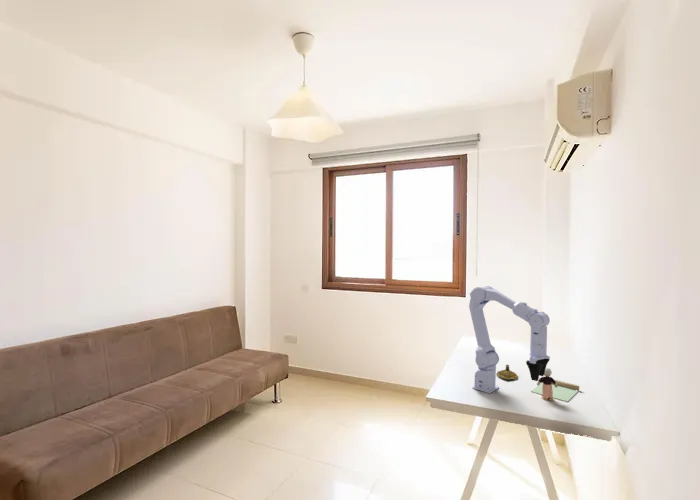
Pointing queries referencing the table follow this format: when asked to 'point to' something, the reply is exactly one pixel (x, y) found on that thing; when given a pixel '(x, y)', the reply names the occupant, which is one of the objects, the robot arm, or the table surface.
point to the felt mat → (557, 392)
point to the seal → (507, 374)
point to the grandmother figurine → (547, 385)
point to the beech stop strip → (567, 385)
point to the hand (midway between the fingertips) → (537, 377)
